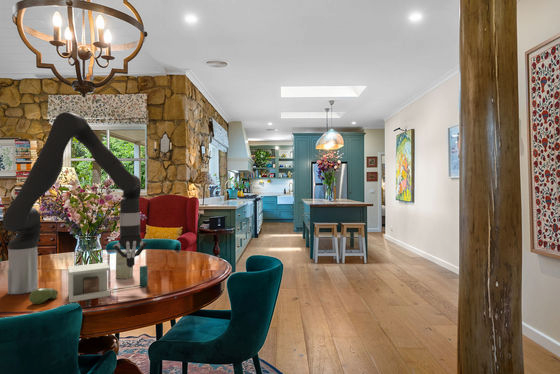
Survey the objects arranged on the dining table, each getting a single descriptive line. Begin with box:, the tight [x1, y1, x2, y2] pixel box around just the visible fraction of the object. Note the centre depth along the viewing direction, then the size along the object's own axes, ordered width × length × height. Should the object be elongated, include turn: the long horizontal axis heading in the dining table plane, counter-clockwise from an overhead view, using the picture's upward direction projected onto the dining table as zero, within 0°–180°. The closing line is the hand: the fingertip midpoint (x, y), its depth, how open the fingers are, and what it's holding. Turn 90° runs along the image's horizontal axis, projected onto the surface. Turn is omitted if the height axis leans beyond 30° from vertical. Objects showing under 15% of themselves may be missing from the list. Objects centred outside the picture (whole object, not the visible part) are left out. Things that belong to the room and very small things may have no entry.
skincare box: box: [115, 249, 134, 279], centre depth 156 cm, size 6×4×12 cm
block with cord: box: [82, 265, 149, 294], centre depth 135 cm, size 23×5×8 cm, turn 123°
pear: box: [28, 287, 59, 305], centre depth 123 cm, size 6×5×10 cm
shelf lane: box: [67, 261, 111, 303], centre depth 130 cm, size 13×11×11 cm
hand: (130, 266), depth 138 cm, fingers closed
